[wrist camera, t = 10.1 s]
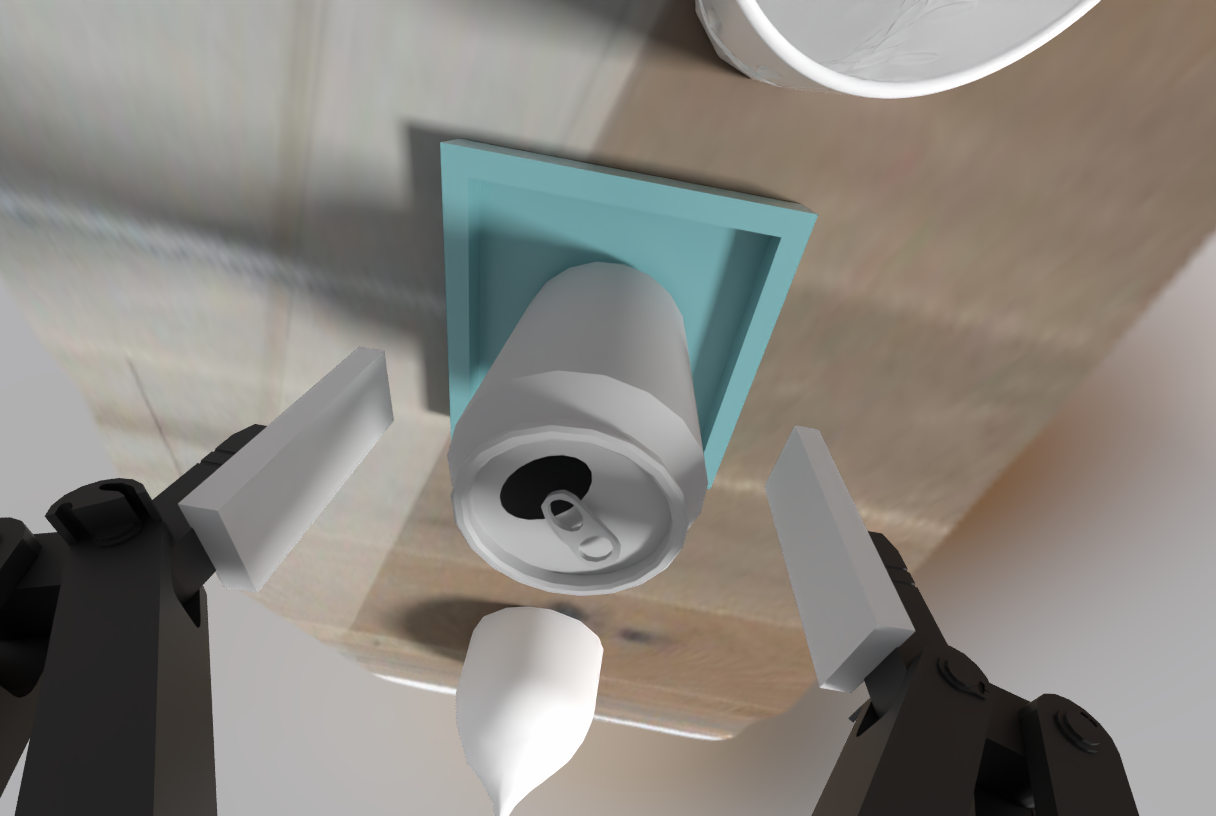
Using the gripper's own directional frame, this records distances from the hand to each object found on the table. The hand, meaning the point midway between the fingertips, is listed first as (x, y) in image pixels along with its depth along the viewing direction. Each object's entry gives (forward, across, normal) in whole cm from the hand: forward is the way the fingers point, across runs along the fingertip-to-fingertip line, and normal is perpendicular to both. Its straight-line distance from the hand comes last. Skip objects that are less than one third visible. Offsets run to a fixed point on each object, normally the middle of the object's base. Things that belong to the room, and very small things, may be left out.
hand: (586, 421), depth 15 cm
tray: (+8, 0, -1) cm, 9 cm away
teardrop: (+8, -1, -30) cm, 31 cm away
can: (+8, 0, -1) cm, 8 cm away
